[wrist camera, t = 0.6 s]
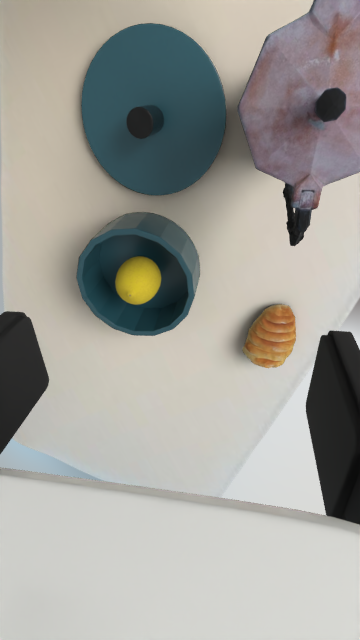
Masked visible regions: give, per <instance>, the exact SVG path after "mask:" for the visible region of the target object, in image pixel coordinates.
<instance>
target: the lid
mask: <svg viewBox="0 0 360 640" xmlns="http://www.w3.org/2000/svg"><path fill="white" fill-rule="evenodd" d="M81 106H82V119H83V125H84V129H85V133H86V137H87V139H88V142H89V144H90V147H91V149H92V151H93V153H94V155H95V157H96V158H97V160H98V161H99V163H100V164H101V165H102V167H103V168H104V169H105V170H106V171H107V172H108V173H109V174H110V175H111V176H112V177H113V178H114V179H115V180H117V181H118V182H119V183H120V184H122V185H124V186H125V187H127V188H129V189H131V190H134V191H136V192H139V193H143V194H148V195H167V194H172V193H176V192H179V191H181V190H183V189H185V188H187V187H189V186H190V185H192V184H194V183H195V182H196V181H197V180H198V179H200V178H201V177H202V176H203V175H204V173H205V172H206V171H207V170H208V169H209V167H210V166H211V164H212V163H213V161H214V159H215V158H216V156H217V154H218V151H219V149H220V146H221V144H222V140H223V136H224V132H225V125H226V103H225V96H224V91H223V87H222V83H221V80H220V77H219V75H218V73H217V71H216V68H215V66H214V65H213V63H212V61H211V60H210V58H209V57H208V55H207V54H206V53H205V51H204V50H203V49H202V48H201V47H200V46H199V45H198V44H197V43H196V42H195V41H194V40H193V39H192V38H190V37H189V36H187V35H186V34H184V33H183V32H181V31H179V30H177V29H175V28H172V27H169V26H166V25H162V24H153V23H147V24H138V25H134V26H131V27H128V28H126V29H124V30H121V31H120V32H118V33H117V34H115V35H114V36H112V37H111V38H110V39H109V40H108V41H107V42H105V43H104V44H103V46H102V47H101V48H100V49H99V51H98V52H97V53H96V55H95V57H94V58H93V60H92V62H91V64H90V66H89V69H88V71H87V74H86V77H85V81H84V85H83V91H82V105H81Z"/></svg>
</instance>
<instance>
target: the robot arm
mask: <svg viewBox="0 0 360 640" xmlns="http://www.w3.org/2000/svg"><path fill="white" fill-rule="evenodd" d="M48 383H49V377H48V374H47V370H46V367H45V364H44V361H43V357H42V354H41V351H40V348H39V344H38V341H37V338H36V335H35V331H34V328H33V325H32V322H31V319H30V318H29V317H27V316H26V315H25V313H23V312H8V311H7V312H4V313H2V314H1V315H0V454H1V452H2V451H3V450H4V448H5V447H6V446H7V444H8V442H9V441H10V440H11V438H12V437H13V436H14V434H15V433H16V431H17V430H18V428H19V427H20V426H21V424H22V423H23V421H24V420H25V418H26V417H27V416H28V414H29V413H30V411H31V410H32V408H33V407H34V406H35V404H36V403H37V401H38V400H39V398H40V397H41V396H42V394H43V393H44V391H45V390H46V388H47V387H48ZM306 414H307V419H308V424H309V429H310V434H311V439H312V444H313V449H314V454H315V460H316V465H317V469H318V475H319V480H320V485H321V490H322V495H323V500H324V505H325V510H326V515H327V516H325V515H320V514H315V513H310V512H305V511H301V510H295V509H289V508H283V507H276V506H270V505H263V504H258V503H251V502H245V501H239V500H232V499H225V498H218V497H211V496H204V495H197V494H190V493H183V492H176V491H169V490H162V489H155V488H148V487H141V486H134V485H126V484H119V483H112V482H105V481H97V480H90V479H82V478H75V477H68V476H60V475H53V474H46V473H38V472H30V471H22V470H16V469H7V468H0V640H360V350H359V348H358V345H357V343H356V341H355V339H354V337H353V335H352V333H351V332H342V331H329V333H328V335H322V336H321V338H320V343H319V347H318V351H317V356H316V360H315V365H314V370H313V374H312V378H311V383H310V387H309V392H308V397H307V401H306Z"/></svg>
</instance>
